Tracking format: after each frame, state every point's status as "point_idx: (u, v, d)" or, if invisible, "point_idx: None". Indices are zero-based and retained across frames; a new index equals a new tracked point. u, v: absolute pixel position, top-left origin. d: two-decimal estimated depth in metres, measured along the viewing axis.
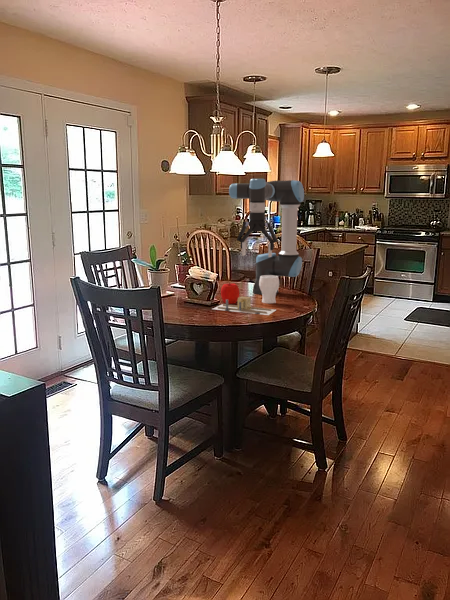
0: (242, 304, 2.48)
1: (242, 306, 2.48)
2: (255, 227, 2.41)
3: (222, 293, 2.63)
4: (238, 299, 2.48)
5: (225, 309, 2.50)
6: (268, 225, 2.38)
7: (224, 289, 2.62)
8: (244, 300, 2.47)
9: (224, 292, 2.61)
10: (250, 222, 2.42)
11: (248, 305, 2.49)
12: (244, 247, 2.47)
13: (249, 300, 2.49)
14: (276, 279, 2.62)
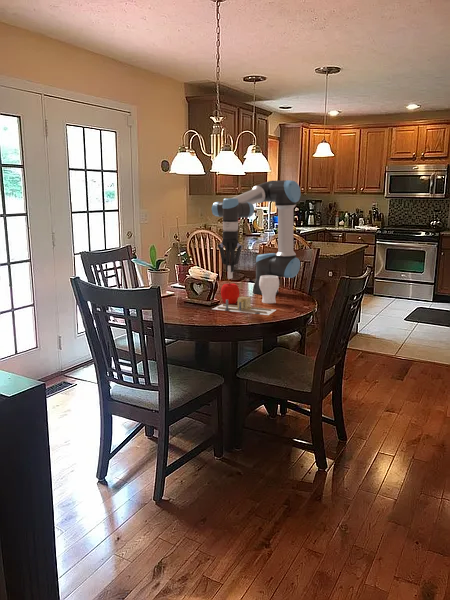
0: (242, 304, 2.48)
1: (242, 306, 2.48)
2: (228, 245, 2.46)
3: (222, 293, 2.63)
4: (238, 299, 2.48)
5: (225, 309, 2.50)
6: (239, 247, 2.44)
7: (224, 289, 2.62)
8: (244, 300, 2.47)
9: (224, 292, 2.61)
10: (222, 241, 2.47)
11: (248, 305, 2.49)
12: None
13: (249, 300, 2.49)
14: (276, 279, 2.62)
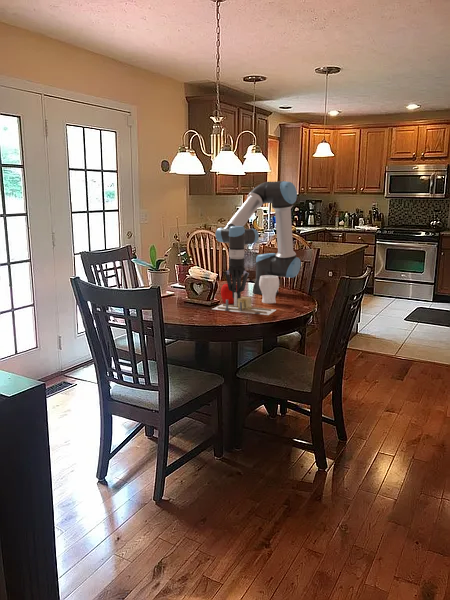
0: (243, 304, 2.47)
1: (243, 306, 2.48)
2: (234, 273, 2.48)
3: (222, 293, 2.63)
4: (239, 299, 2.48)
5: (225, 309, 2.50)
6: (245, 275, 2.45)
7: (224, 289, 2.62)
8: (245, 300, 2.47)
9: (224, 292, 2.61)
10: (229, 268, 2.48)
11: (249, 305, 2.48)
12: None
13: (250, 300, 2.49)
14: (276, 279, 2.62)
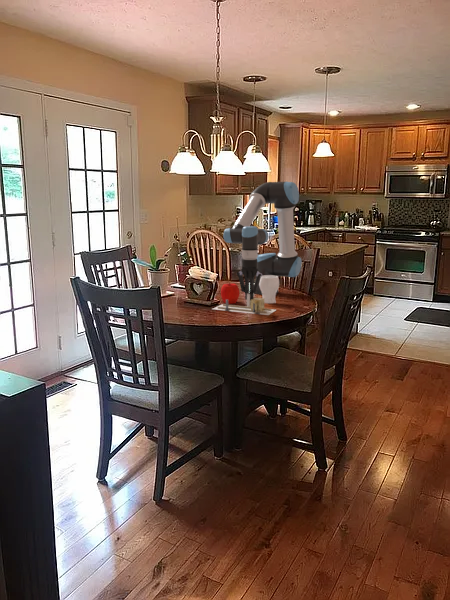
0: (256, 305, 2.45)
1: (256, 307, 2.45)
2: (247, 273, 2.45)
3: (222, 293, 2.63)
4: (252, 300, 2.45)
5: (225, 309, 2.50)
6: (258, 276, 2.42)
7: (224, 289, 2.62)
8: (258, 301, 2.44)
9: (224, 292, 2.61)
10: (242, 269, 2.46)
11: (262, 306, 2.46)
12: None
13: (263, 301, 2.46)
14: (276, 279, 2.62)
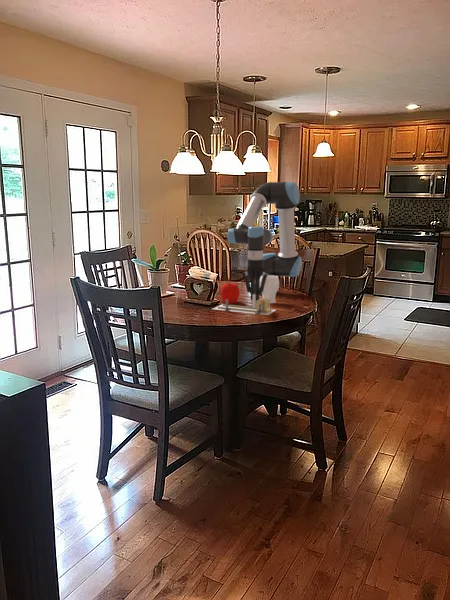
0: (262, 306, 2.43)
1: (262, 308, 2.44)
2: (253, 274, 2.43)
3: (222, 293, 2.63)
4: (257, 301, 2.44)
5: (225, 309, 2.50)
6: (264, 276, 2.41)
7: (224, 289, 2.62)
8: (264, 302, 2.42)
9: (224, 292, 2.61)
10: (247, 269, 2.44)
11: (268, 307, 2.44)
12: None
13: (269, 302, 2.45)
14: (276, 279, 2.62)
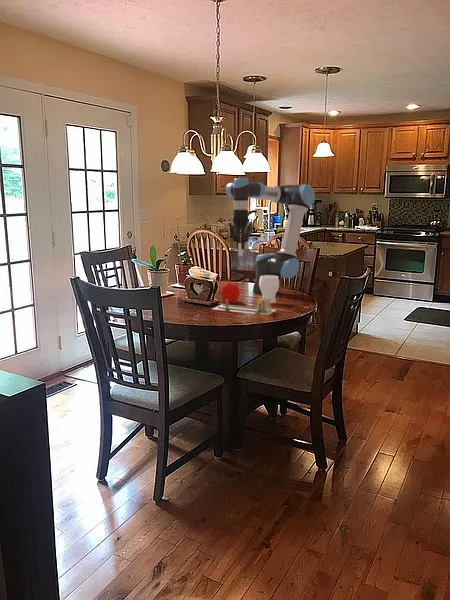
0: (262, 306, 2.43)
1: (262, 308, 2.44)
2: (239, 223, 2.57)
3: (222, 293, 2.63)
4: (258, 301, 2.44)
5: (225, 309, 2.50)
6: (249, 225, 2.55)
7: (224, 289, 2.62)
8: (264, 302, 2.42)
9: (224, 292, 2.61)
10: (233, 219, 2.58)
11: (268, 307, 2.44)
12: None
13: (269, 302, 2.45)
14: (276, 279, 2.62)
